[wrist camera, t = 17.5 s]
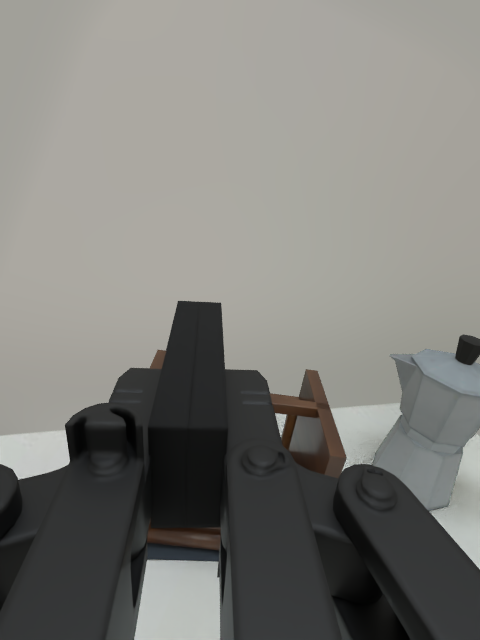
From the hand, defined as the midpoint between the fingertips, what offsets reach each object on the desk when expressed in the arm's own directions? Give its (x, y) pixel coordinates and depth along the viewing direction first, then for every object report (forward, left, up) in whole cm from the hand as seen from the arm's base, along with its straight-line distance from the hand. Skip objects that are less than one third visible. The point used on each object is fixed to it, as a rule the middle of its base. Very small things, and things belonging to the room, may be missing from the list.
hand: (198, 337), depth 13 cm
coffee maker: (+23, +21, -25) cm, 40 cm away
